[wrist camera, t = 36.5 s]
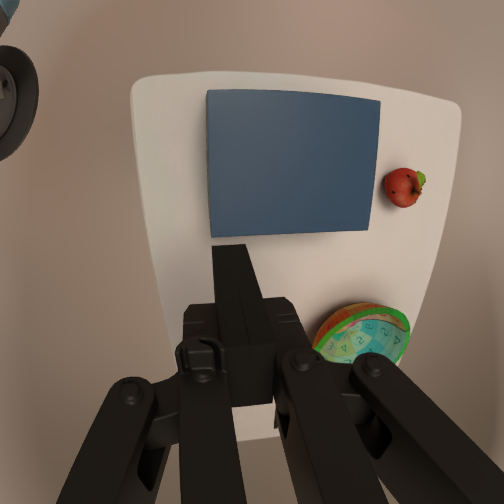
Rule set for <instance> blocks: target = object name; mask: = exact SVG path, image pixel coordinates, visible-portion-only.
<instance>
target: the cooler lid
mask: <svg viewBox="0 0 504 504" xmlns="http://www.w3.org/2000/svg"><path fill="white" fill-rule="evenodd" d="M207 119H208V171H209V202H210V227H211V238H214V237H232V236H251V235H271V234H292V233H314V232H337V231H362V230H368V226H369V219H370V212H371V205H372V197H373V189H374V180H375V171H376V160H377V149H378V137H379V122H380V101H377V100H370V99H364V98H356V97H349V96H341V95H332V94H322V93H311V92H297V91H280V90H242V89H233V90H208V91H207Z"/></svg>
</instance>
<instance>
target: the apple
mask: <svg viewBox="0 0 504 504" xmlns="http://www.w3.org/2000/svg"><path fill="white" fill-rule="evenodd" d="M425 182H426V179H425V175H424V174H423V173H421V172H420V171H417V172H415V171H414V170H411V169H408V168H399V169H396V170H394V171H393V172H391V173H389V174H388V175H387V176H386V177H385V190H386V194H387V196H388V198H389V199H390V201H391V202H392V203H393V204H395V205H396V206H398V207H401V208H406V207H409V206H411V205H413V204H414V203H416V201H417V199H418V197H419V196H420V195H421V190H422V186H423V185H424V183H425Z"/></svg>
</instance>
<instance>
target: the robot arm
mask: <svg viewBox="0 0 504 504" xmlns="http://www.w3.org/2000/svg"><path fill="white" fill-rule="evenodd" d="M19 1H20V0H0V37H1V35H2V33H3V32H4V30H5V29H6V27H7V26H8V25H9V23H10V19H11V18H12V16H13V14H14V12H15V11H16V9H17V8H18V5H19ZM17 106H18V86H17V82H16V79H15V77H14V75H13V74H12V72H11V71H10V70H9V69H8V68H6V67H4V66H1V65H0V138H2V137H3V136H4V134H5V133H6V132H7V131H8V129H9V128H10V126H11V124H12V122H13V120H14V117H15V114H16V111H17ZM212 260H213V278H214V295H215V303H207V304H191V305H189V306H188V308H187V309H186V311H185V312H184V318H183V341H182V342H181V343H180V344H179V345H178V346H177V347H176V350H175V357H176V362H177V367H178V372H177V373H176V374H175V375H173V376H172V377H170V378H169V379H166V380H164V381H160V382H157V383H153V384H151V383H150V382H148V381H147V380H146V379H143V378H140V377H127V378H123V379H121V380H119V381H117V382H116V383H114V385H113V386H112V387H111V388H110V390H109V392H108V394H107V396H106V398H105V400H104V402H103V404H102V406H101V408H100V410H99V412H98V414H97V416H96V418H95V420H94V422H93V424H92V426H91V428H90V430H89V432H88V434H87V436H86V438H85V440H84V442H83V444H82V446H81V449H80V451H79V453H78V455H77V457H76V459H75V461H74V464H73V466H72V468H71V470H70V472H69V475H68V477H67V479H66V482H65V484H64V486H63V488H62V490H61V493H60V495H59V498H58V500H57V502H56V504H155V500H156V497H157V493H158V490H159V486H160V483H161V479H162V475H163V472H164V469H165V465H166V462H167V459H168V455H169V452H170V448H171V445H173V444H177V443H179V466H180V490H181V504H247V501H246V495H245V490H244V484H243V478H242V472H241V466H240V460H239V454H238V448H237V441H236V435H235V428H234V422H233V415H232V407H242V406H252V405H261V404H269V403H272V402H273V396H274V400H275V404H276V410H275V419H274V429H276V428H277V427H278V429H279V432H280V436H281V440H282V444H283V448H284V452H285V455H286V460H287V463H288V467H289V471H290V475H291V479H292V482H293V486H294V490H295V494H296V497H297V501H298V504H389V503H388V501H387V498H386V496H385V494H384V491H383V489H382V486H381V484H380V482H379V479H380V480H381V481H382V483H383V484H384V485H385V486H386V488H387V489H388V490H389V491H390V493H391V494H392V495H393V496H394V498H395V499H396V500H397V501H398V503H399V504H504V472H503V471H502V470H501V469H500V468H499V467H498V466H497V465H496V464H495V463H494V462H493V461H492V460H491V459H490V458H489V457H488V456H487V455H486V454H485V453H484V452H483V451H482V450H481V449H480V448H479V447H478V446H477V445H476V444H475V443H474V442H473V441H472V440H471V439H470V438H469V437H468V436H467V435H466V434H465V433H464V432H463V431H462V430H461V429H460V428H459V427H458V426H457V425H456V424H455V423H454V422H453V421H452V420H451V419H450V418H449V417H448V416H447V415H446V414H445V413H444V412H443V411H442V410H441V409H440V408H439V407H438V406H437V405H436V404H435V403H434V402H433V401H432V400H431V399H430V398H429V397H428V396H427V395H426V394H425V393H424V392H423V391H422V390H421V389H420V388H419V387H418V386H417V385H416V384H414V383H413V381H412V380H411V379H410V378H408V377H407V376H406V375H405V374H404V373H403V372H402V371H401V370H400V369H399V368H398V367H397V366H396V365H395V364H394V363H393V362H392V361H391V360H390V359H389V358H387V357H386V356H384V355H382V354H379V353H375V352H367V353H362V354H360V355H358V356H357V357H356V358H355V359H354V361H353V363H338V362H332V361H328V360H325V358H324V357H323V356H322V354H321V353H319V352H318V351H316V350H314V349H313V348H312V346H311V344H310V342H309V340H308V337H307V335H306V333H305V331H304V328H303V326H302V324H301V322H300V319H299V317H298V315H297V313H296V310H295V308H294V306H293V304H292V303H291V302H290V301H288V300H287V299H286V298H285V297H276V298H264V299H263V297H262V294H261V291H260V288H259V285H258V282H257V279H256V275H255V272H254V269H253V266H252V263H251V260H250V257H249V253H248V250H247V247H246V244H238V245H220V246H212ZM377 476H378V477H377ZM378 478H379V479H378Z"/></svg>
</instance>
